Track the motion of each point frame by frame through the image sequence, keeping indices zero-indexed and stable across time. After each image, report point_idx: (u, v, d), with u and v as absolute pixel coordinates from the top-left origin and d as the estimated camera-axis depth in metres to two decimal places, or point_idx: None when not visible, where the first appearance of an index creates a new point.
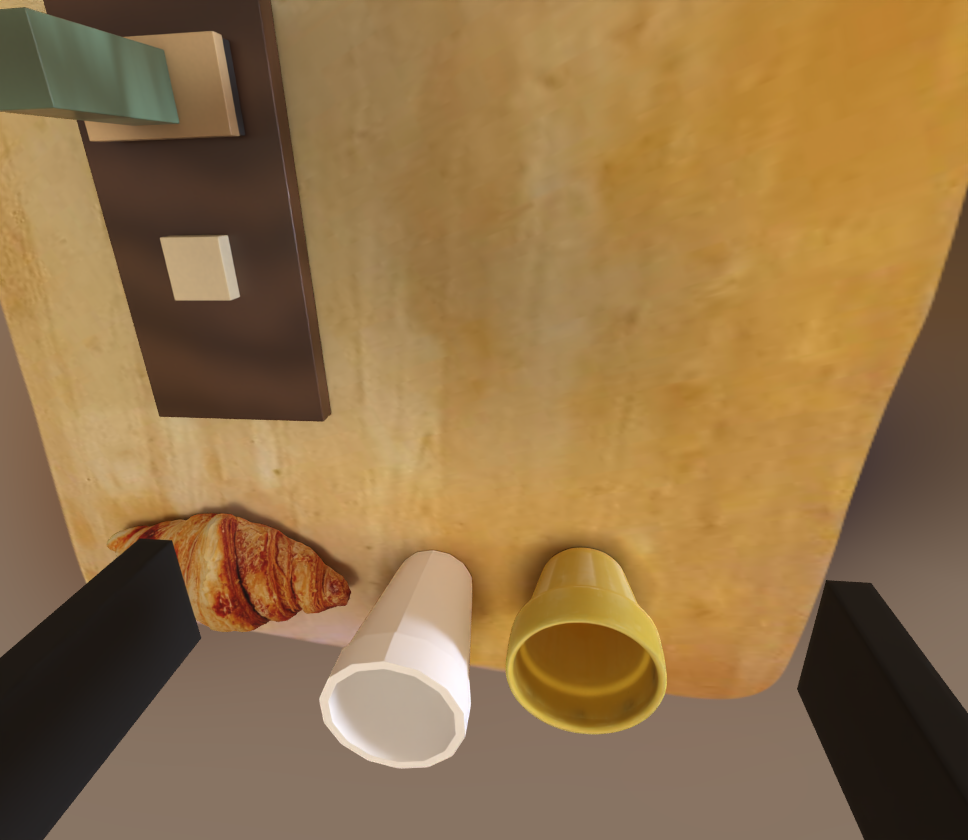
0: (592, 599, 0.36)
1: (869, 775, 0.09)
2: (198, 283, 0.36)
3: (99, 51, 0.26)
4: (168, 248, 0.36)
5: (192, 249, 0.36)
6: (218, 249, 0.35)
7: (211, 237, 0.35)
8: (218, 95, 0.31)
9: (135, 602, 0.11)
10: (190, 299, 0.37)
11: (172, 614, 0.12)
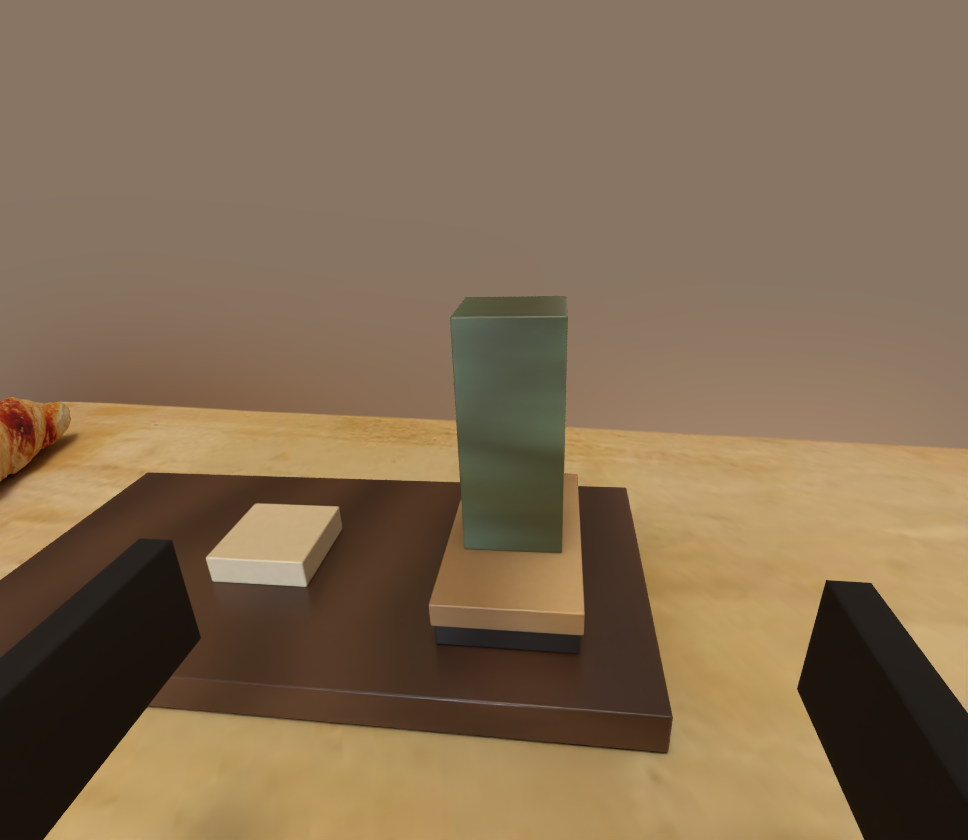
0: None
1: (869, 775, 0.09)
2: (256, 528, 0.24)
3: (536, 426, 0.18)
4: (320, 511, 0.25)
5: (304, 532, 0.23)
6: (284, 559, 0.22)
7: (305, 556, 0.22)
8: (490, 600, 0.18)
9: (135, 602, 0.11)
10: (243, 517, 0.25)
11: (172, 614, 0.12)
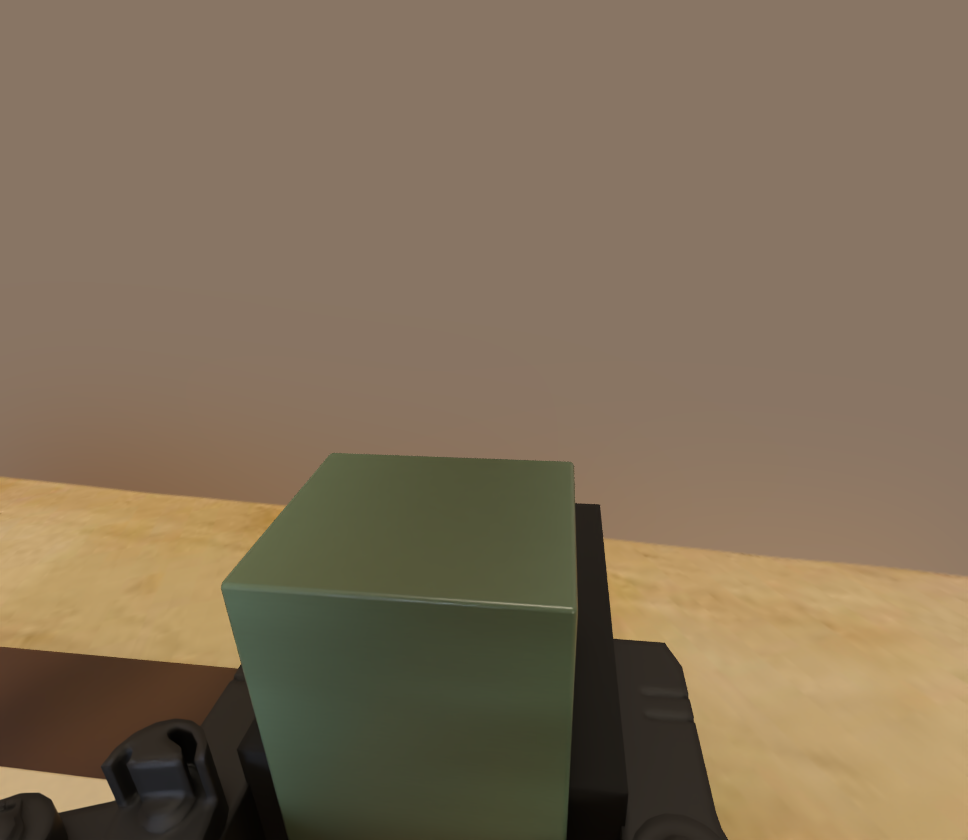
0: None
1: None
2: None
3: None
4: (101, 800, 0.13)
5: None
6: None
7: None
8: None
9: None
10: None
11: None
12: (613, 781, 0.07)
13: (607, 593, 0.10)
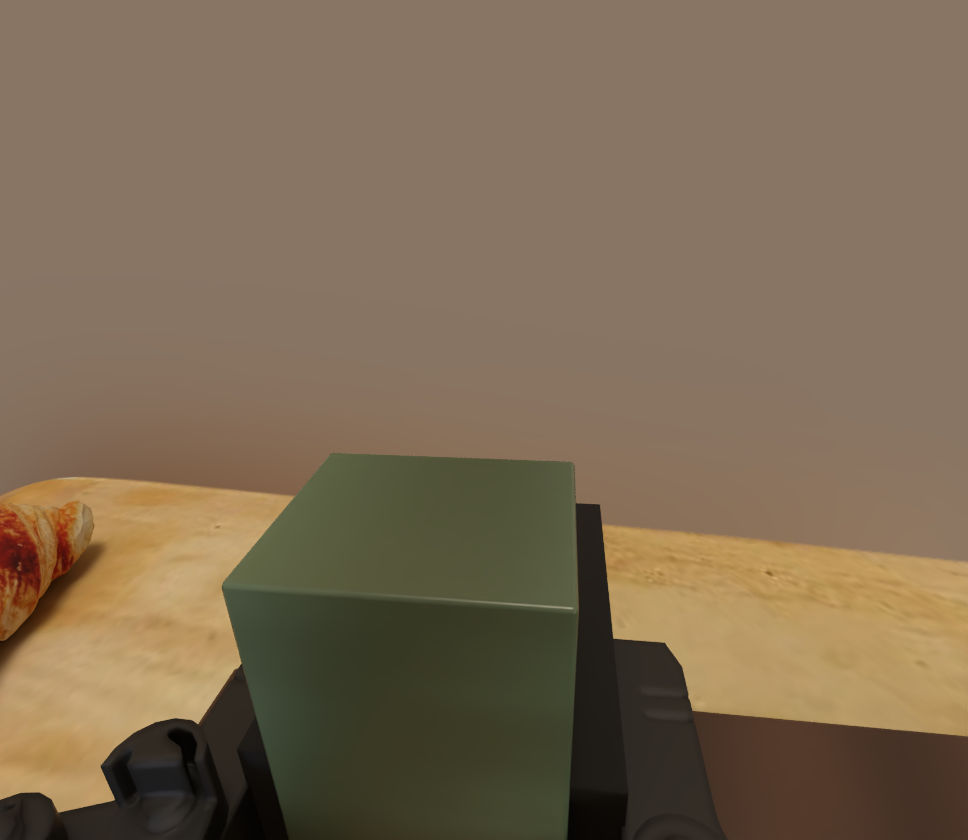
0: None
1: None
2: None
3: None
4: None
5: None
6: None
7: None
8: None
9: None
10: None
11: None
12: (613, 781, 0.07)
13: (607, 593, 0.10)
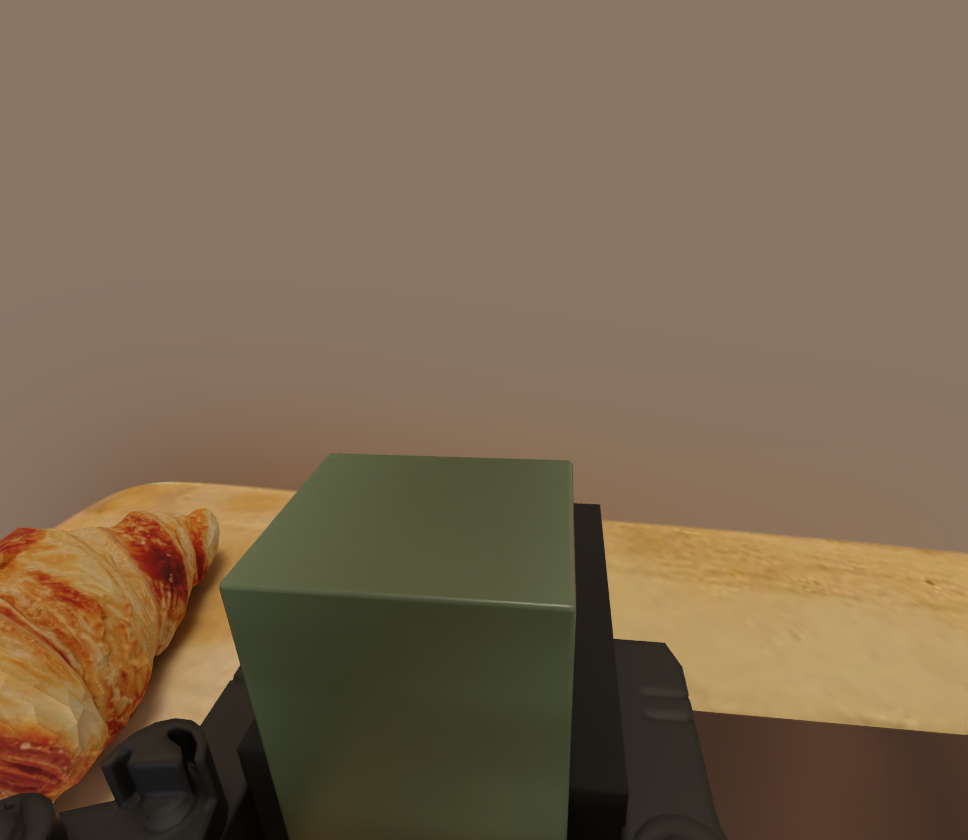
0: None
1: None
2: None
3: None
4: None
5: None
6: None
7: None
8: None
9: None
10: None
11: None
12: (613, 781, 0.07)
13: (607, 593, 0.10)
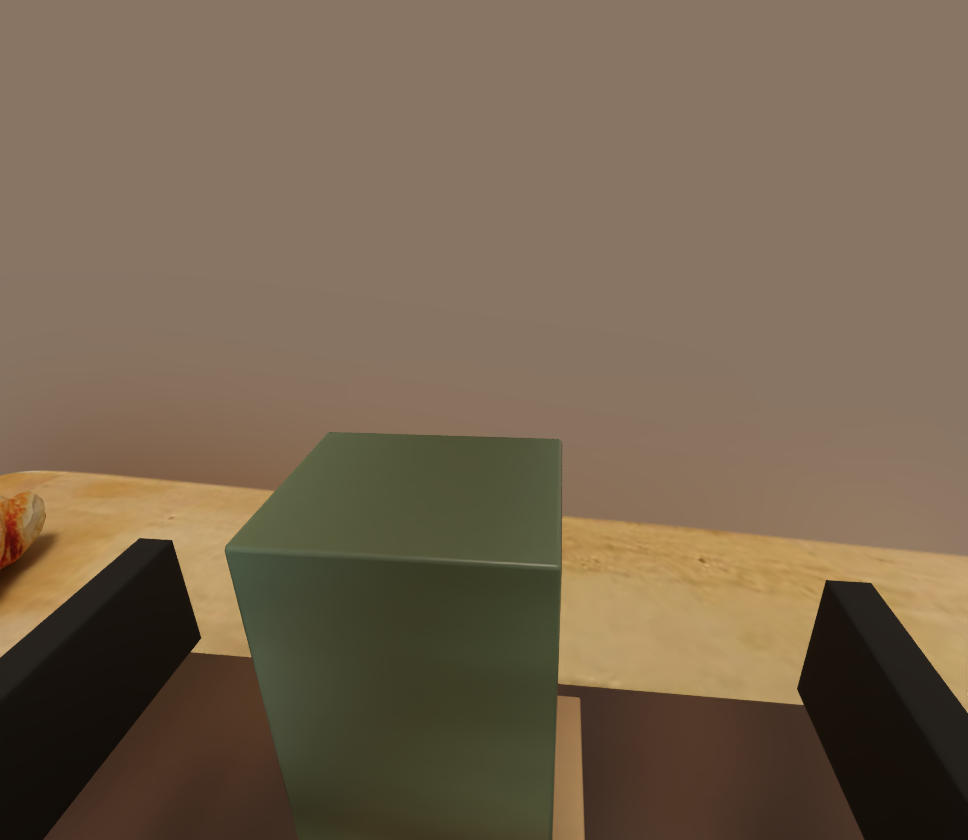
0: None
1: (869, 775, 0.09)
2: None
3: (479, 797, 0.07)
4: None
5: None
6: None
7: None
8: None
9: (135, 602, 0.11)
10: None
11: (172, 614, 0.12)
12: None
13: None
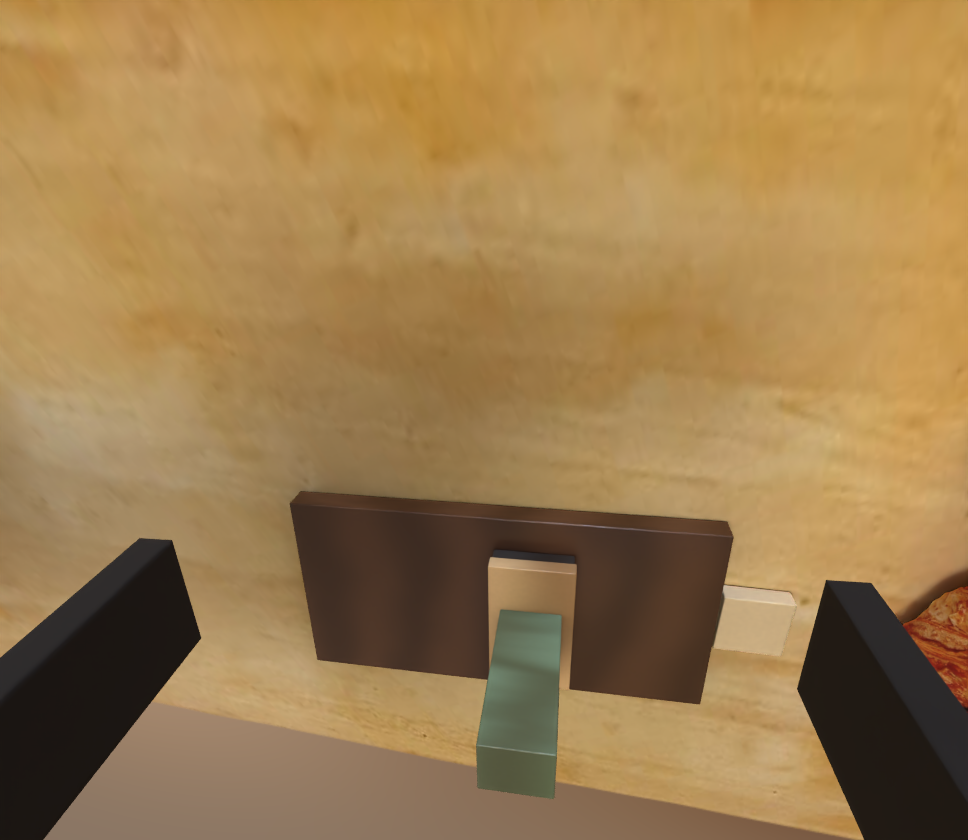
0: None
1: (869, 775, 0.09)
2: (769, 630, 0.33)
3: (505, 681, 0.28)
4: (725, 643, 0.34)
5: (731, 624, 0.34)
6: (738, 601, 0.33)
7: (724, 603, 0.33)
8: (540, 576, 0.32)
9: (136, 602, 0.11)
10: (784, 642, 0.34)
11: (172, 614, 0.12)
12: None
13: None
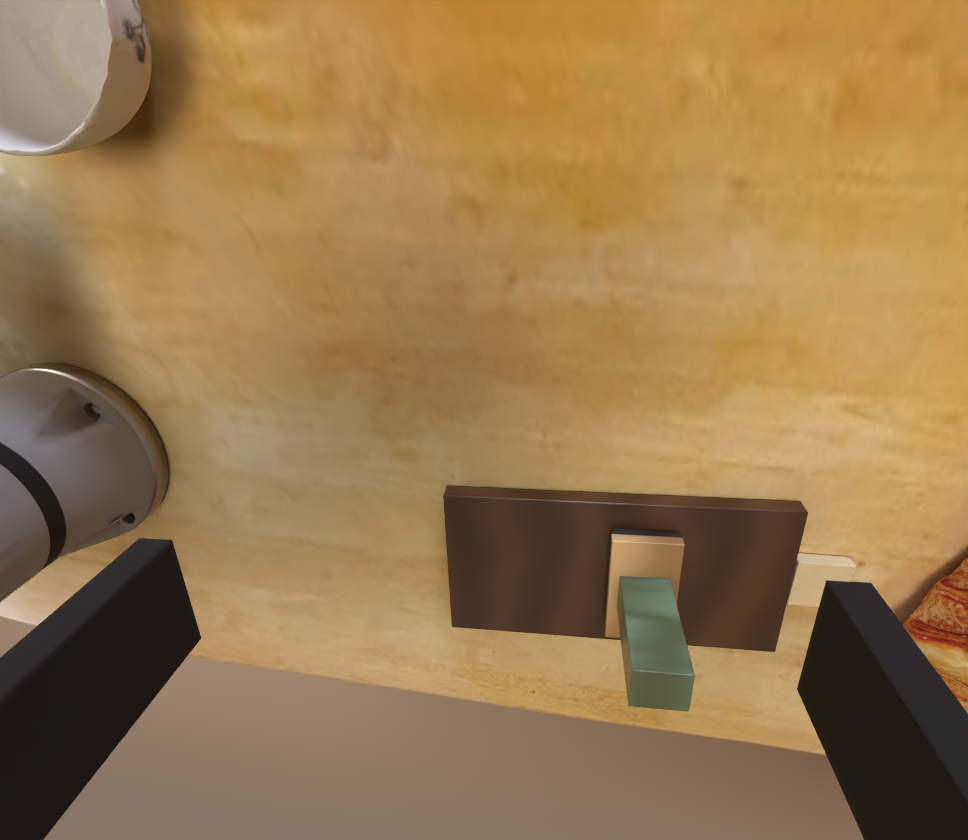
0: None
1: (869, 775, 0.09)
2: None
3: (640, 626, 0.37)
4: (797, 600, 0.43)
5: (803, 583, 0.42)
6: (809, 564, 0.41)
7: (797, 567, 0.42)
8: (655, 547, 0.40)
9: (135, 602, 0.11)
10: None
11: (172, 614, 0.12)
12: None
13: None
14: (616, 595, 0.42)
